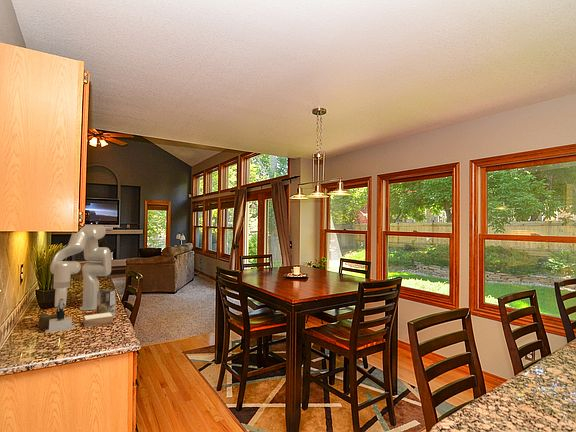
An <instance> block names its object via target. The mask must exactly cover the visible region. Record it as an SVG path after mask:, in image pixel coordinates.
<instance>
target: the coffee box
mask: <svg viewBox="0 0 576 432" xmlns="http://www.w3.org/2000/svg"><path fill="white" fill-rule="evenodd" d="M116 310H117V290H116V289H101V290H99V291H98V292H97V309H96V314H101V313H109V312H110V313H111V314H112V316H113V317H115V316H117V311H116Z"/></svg>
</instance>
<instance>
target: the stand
mask: <svg viewBox="0 0 576 432" xmlns="http://www.w3.org/2000/svg"><path fill="white" fill-rule="evenodd" d="M82 319H83V320H82V322H83V326H84V328H91V327H95V326H103V325H109V324H111V325H112V324H113V323H114V322H113V321H114V316H112V314H111V313H110V312H109V313H101V314H97V313H94V314H88V315H87V314H85V315H83V316H82Z"/></svg>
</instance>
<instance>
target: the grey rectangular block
mask: <svg viewBox="0 0 576 432" xmlns="http://www.w3.org/2000/svg"><path fill="white" fill-rule="evenodd" d="M50 319H57V312H56V313H54V314H45V313H43V312H42V313H40V315H39V320H38V321H39V326H38V327H39V328H40V329H41V330H45V329H48V328H49V320H50Z"/></svg>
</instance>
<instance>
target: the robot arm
mask: <svg viewBox="0 0 576 432" xmlns="http://www.w3.org/2000/svg"><path fill="white" fill-rule="evenodd" d="M84 225H85V226H84V227H83V228H81V229H80V231H79V232H77V233H73V232H72V233H71V236H70V238H69V241H68V244H67V245H66V246H64V247H63V248H62V249H60V250H59V251H57V252H56V254H55V255H54V256H53V258H52V261H51V263H50V268H49V271H50V273H51V274H52V275H53V287H52V289H54V290H55V292H54V308H55V309H56V313H57V319H64V318H65V313H66V312H65V307H66V305H67V299H68V289H70V288H71V275H76V274H78V273H79V272H80V270H82V271H81V272H82V273H81V274H82V280H83V284H82V286H83V288H82V306H80V307H79V310H80V311H94V310H97V292H98V291H100V280H99V279H98V277H107V276H109V275H111V273H112V254H111V249H110V248H109V247H106V246H103V247H102V246H101V247H99V241H98V240H101V239H103V238H104V237H105V235H106V233H107V229H106V227H105V226H104V225H103V224H84ZM82 252H83V257H84V258H83V259H84V260H85V261H87V262H86V263H84V264H83V265H82V267H81V263H80V262H78V261H76V260H71V261H70V260H65V259H66V258H68V257H70V256H74V255H76V254H80V253H82Z"/></svg>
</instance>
